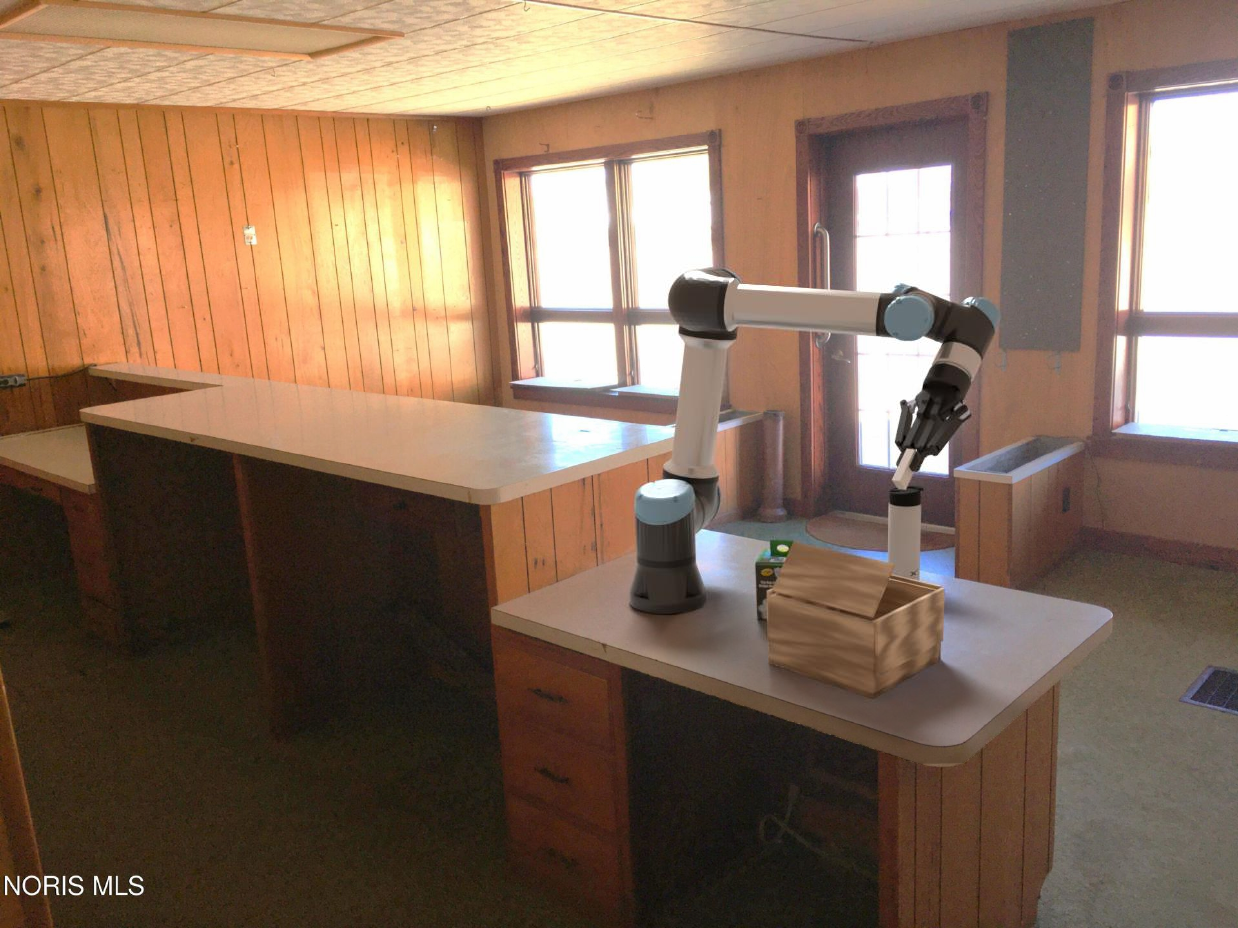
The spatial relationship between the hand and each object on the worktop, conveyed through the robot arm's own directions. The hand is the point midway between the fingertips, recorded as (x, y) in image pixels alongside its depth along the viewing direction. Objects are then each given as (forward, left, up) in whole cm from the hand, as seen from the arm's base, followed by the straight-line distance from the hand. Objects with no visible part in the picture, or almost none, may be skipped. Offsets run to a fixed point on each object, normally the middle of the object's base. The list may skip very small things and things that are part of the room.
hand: (898, 484), depth 168 cm
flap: (-15, -16, -15) cm, 27 cm away
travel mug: (+8, +30, -28) cm, 42 cm away
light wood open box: (-9, -9, -28) cm, 30 cm away
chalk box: (-18, +14, -28) cm, 36 cm away
